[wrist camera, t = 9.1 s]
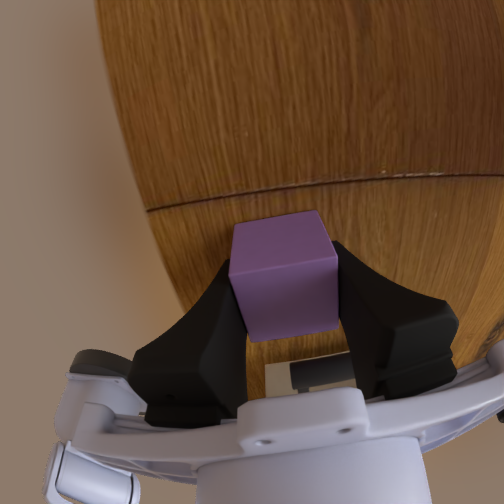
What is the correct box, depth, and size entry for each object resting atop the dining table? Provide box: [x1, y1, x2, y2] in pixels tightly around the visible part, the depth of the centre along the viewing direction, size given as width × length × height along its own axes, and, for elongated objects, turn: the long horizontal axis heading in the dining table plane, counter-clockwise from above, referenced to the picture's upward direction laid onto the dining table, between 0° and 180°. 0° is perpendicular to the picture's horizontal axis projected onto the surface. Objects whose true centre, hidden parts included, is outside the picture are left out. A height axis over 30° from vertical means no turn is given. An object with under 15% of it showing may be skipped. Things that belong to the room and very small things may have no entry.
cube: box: [228, 210, 339, 342], centre depth 13 cm, size 4×4×4 cm
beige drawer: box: [265, 351, 357, 398], centre depth 17 cm, size 17×10×7 cm, turn 12°
